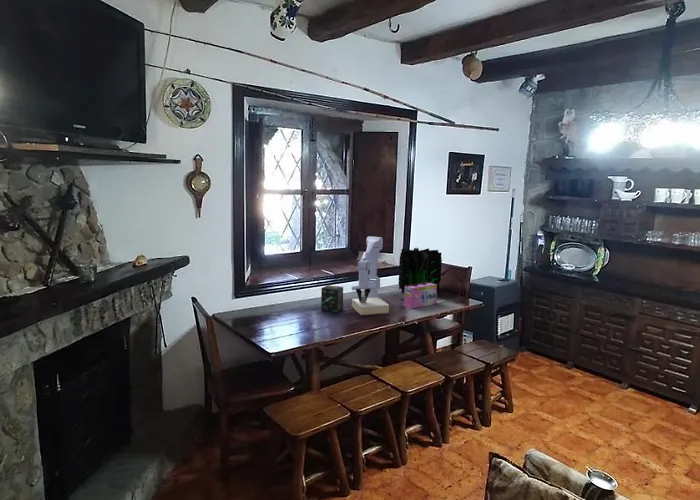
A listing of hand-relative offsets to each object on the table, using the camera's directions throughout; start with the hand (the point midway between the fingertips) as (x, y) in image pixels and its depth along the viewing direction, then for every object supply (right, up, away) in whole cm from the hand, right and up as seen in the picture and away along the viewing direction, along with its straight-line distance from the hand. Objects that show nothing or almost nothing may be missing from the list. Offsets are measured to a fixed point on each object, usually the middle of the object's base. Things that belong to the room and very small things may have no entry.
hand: (362, 300), depth 290 cm
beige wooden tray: (+5, -6, +3) cm, 8 cm away
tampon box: (-19, -6, +1) cm, 20 cm away
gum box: (+38, -5, +18) cm, 43 cm away
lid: (+5, -2, +2) cm, 5 cm away
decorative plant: (+43, +1, +56) cm, 70 cm away
